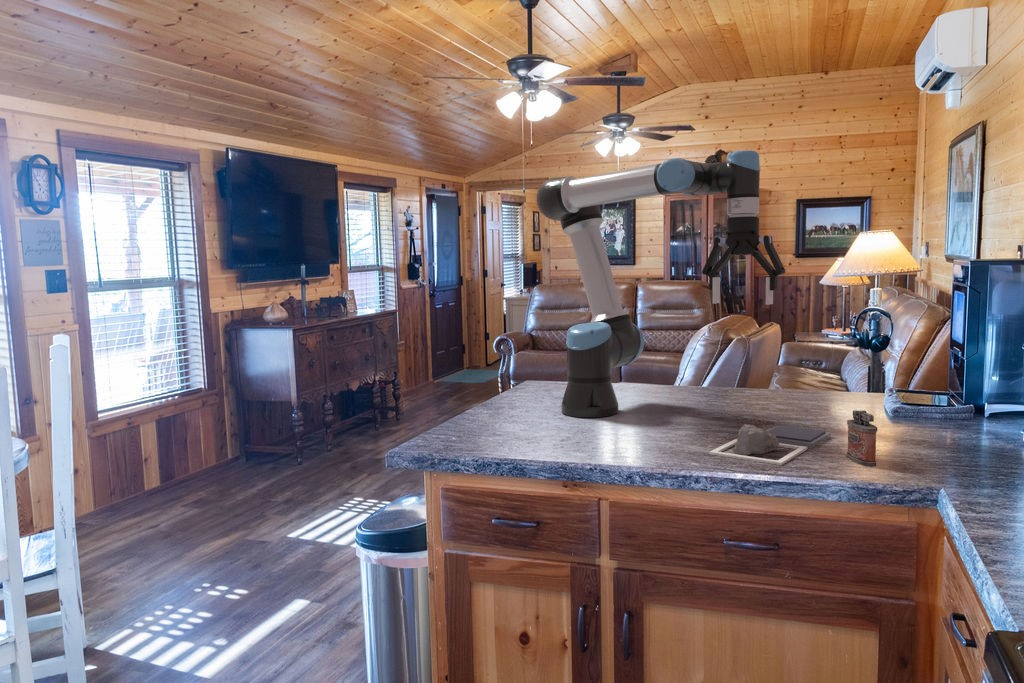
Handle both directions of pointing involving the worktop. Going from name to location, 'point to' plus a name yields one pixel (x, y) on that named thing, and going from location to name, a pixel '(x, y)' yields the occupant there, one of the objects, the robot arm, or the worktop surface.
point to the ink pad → (799, 436)
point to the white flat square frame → (780, 462)
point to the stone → (754, 441)
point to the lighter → (862, 439)
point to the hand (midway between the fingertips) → (742, 303)
